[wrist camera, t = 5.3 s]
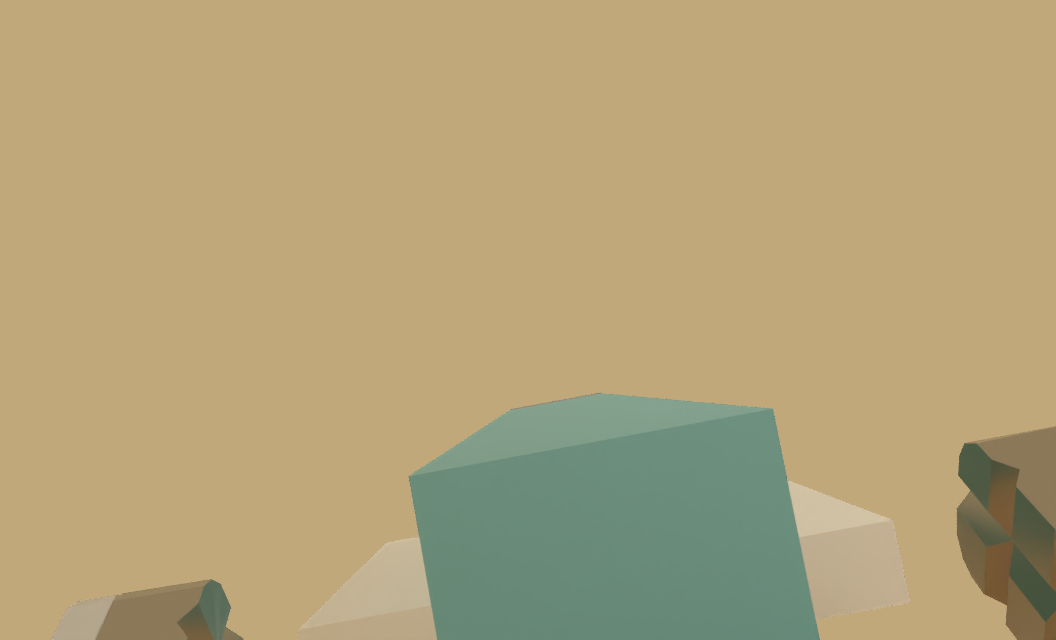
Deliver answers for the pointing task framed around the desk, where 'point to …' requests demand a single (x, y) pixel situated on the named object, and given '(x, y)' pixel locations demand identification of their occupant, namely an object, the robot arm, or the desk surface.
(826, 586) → the stand
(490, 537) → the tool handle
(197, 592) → the robot arm
